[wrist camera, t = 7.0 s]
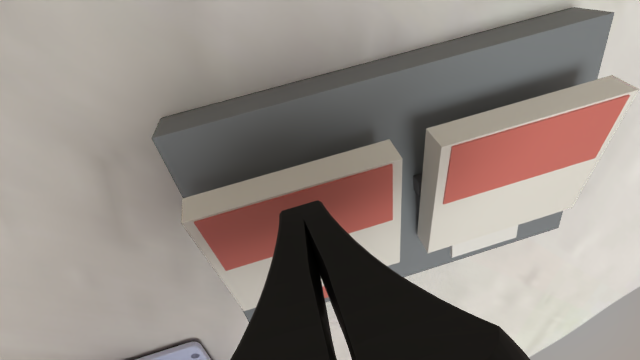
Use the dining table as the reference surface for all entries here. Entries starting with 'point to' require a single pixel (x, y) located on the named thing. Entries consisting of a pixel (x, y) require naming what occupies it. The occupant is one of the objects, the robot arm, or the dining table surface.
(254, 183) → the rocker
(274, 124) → the switch panel
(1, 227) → the dining table surface
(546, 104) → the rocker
